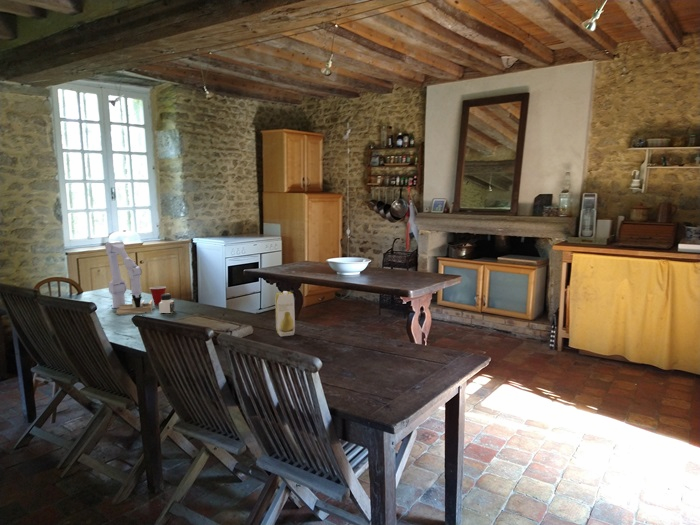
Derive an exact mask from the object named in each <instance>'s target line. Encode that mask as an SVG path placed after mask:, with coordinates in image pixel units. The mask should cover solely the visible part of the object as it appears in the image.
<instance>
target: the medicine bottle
mask: <svg viewBox="0 0 700 525" xmlns="http://www.w3.org/2000/svg"><path fill="white" fill-rule="evenodd" d="M161 301H162V302H160V303H159V305H158V312H159V314H160V313H171V314H172V313H174V312H175V300H173V299H172V294H170V293H165V294H162V295H161ZM173 311H174V312H173Z"/></svg>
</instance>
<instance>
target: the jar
mask: <svg viewBox="0 0 700 525" xmlns="http://www.w3.org/2000/svg"><path fill="white" fill-rule="evenodd" d="M141 301H142V300H141ZM141 301H140V303H141ZM131 304H132V306H133V308H137V307H136V306H135V302H134V300H133V298H132V299H131Z"/></svg>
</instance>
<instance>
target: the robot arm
mask: <svg viewBox="0 0 700 525" xmlns="http://www.w3.org/2000/svg"><path fill="white" fill-rule="evenodd" d="M104 247H105V248H104V249H105V253H106V255H107V257H108V262H109V269H110V273H111V281H109V282H108V291H109V293H110V295H111V297H112V306H111V309H120V307H119V305H125V304H126V296H125V293H126V291H127V290H128V289H127V288H128V287H127V284H126V281H125V280H124V279H122V278H121V272H120V266H119V260H118V255H119V257H120V258H121V259H122V260H123V266H125V268H126V269H127V273H128V277H129V280H130V287H131V289H130V290H131V292H129V295H131V297H132V299H133V300H134V302H135V306H136V307H140V301H142V298H143V297H142V284H141V283H142V282H141V276H142V273H143V272H142V271H143V269H142V268H141V266H138V264H136V263H135V261H134V259H132V258H131V257H129V255H128V253H127V251H126V250H125V244H124V241H122V240H116V241H115V240H114V241H107V242H106V244H105V246H104Z"/></svg>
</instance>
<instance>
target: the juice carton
mask: <svg viewBox="0 0 700 525" xmlns="http://www.w3.org/2000/svg"><path fill="white" fill-rule="evenodd" d="M274 300H275V301H274V302H275V304H274V305H275V328H276V333H277V335H278V336H280V337H288V336H294V335H295V330H296V320H295V318H296V317H295V316H296V315H295V314H296V313H295V297H294V293H293V292H291V291H287V290H283V291H282V292H276V293H275V299H274Z"/></svg>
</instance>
